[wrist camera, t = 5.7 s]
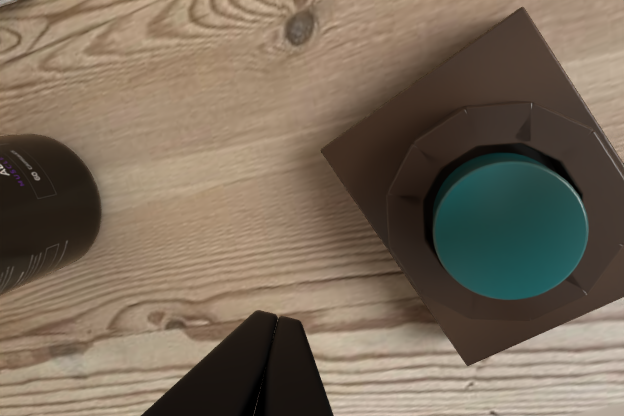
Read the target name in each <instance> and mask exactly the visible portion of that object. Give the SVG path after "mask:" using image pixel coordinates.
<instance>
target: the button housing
mask: <svg viewBox="0 0 624 416" xmlns="http://www.w3.org/2000/svg"><path fill="white" fill-rule="evenodd" d="M321 152H322V154H323V155H324V157H325V158H326V160H327V161H328V162H329V164H330V165H331V167H332V168H333V170H334V171H335V173H336V174H337V176H338V177H339V179H340V180H341V182H342V183H343V184H344V186H345V187H346V189H347V190H348V192H349V193H350V195H351V196H352V198H353V199H354V201H355V202H356V204H357V205H358V207H359V208H360V209H361V211H362V212H363V214H364V215H365V217H366V218H367V220H368V221H369V223H370V224H371V226H372V227H373V229H374V230H375V231H376V233H377V234H378V236H379V237H380V239H381V240H382V242H383V243H384V245H385V246H386V248H387V249H388V251H389V252H390V254H391V255H392V256H393V258H394V259H395V261H396V262H397V264H398V265H399V267H400V268H401V270H402V271H403V273H404V274H405V276H406V277H407V278H408V280H409V281H410V283H411V284H412V286H413V287H414V289H415V290H416V292H417V293H418V295H419V296H420V298H421V299H422V301H423V302H424V303H425V305H426V306H427V308H428V309H429V311H430V312H431V314H432V315H433V317H434V318H435V320H436V321H437V323H438V324H439V325H440V327H441V328H442V330H443V331H444V333H445V334H446V336H447V337H448V339H449V340H450V342H451V343H452V345H453V346H454V348H455V349H456V350H457V352H458V353H459V355H460V356H461V358H462V359H463V361H464V362H465V364H466V365H467V366H469V365H471V364H474V363H476V362H478V361H480V360H483V359H485V358H487V357H489V356H492V355H494V354H496V353H498V352H501V351H503V350H505V349H508V348H510V347H512V346H514V345H517V344H519V343H521V342H523V341H526V340H528V339H530V338H532V337H535V336H537V335H539V334H541V333H544V332H546V331H548V330H550V329H553V328H555V327H557V326H559V325H562V324H564V323H566V322H568V321H571V320H573V319H575V318H577V317H580V316H582V315H584V314H586V313H589V312H591V311H593V310H595V309H598V308H600V307H602V306H604V305H607V304H609V303H611V302H613V301H616V300H618V299H620V298H622V297H624V163H623V162H622V160H621V159H620V157H619V156H618V154H617V152H616V151H615V149H614V148H613V146H612V145H611V143H610V141H609V140H608V138H607V137H606V135H605V134H604V132H603V131H602V129H601V127H600V126H599V124H598V123H597V121H596V120H595V118H594V116H593V115H592V113H591V112H590V110H589V109H588V107H587V105H586V104H585V102H584V101H583V99H582V98H581V96H580V94H579V93H578V91H577V90H576V88H575V87H574V85H573V84H572V82H571V80H570V79H569V77H568V76H567V74H566V73H565V71H564V69H563V68H562V66H561V65H560V63H559V62H558V60H557V58H556V57H555V55H554V54H553V52H552V51H551V49H550V47H549V46H548V44H547V43H546V41H545V40H544V38H543V37H542V35H541V33H540V32H539V30H538V29H537V27H536V26H535V24H534V22H533V21H532V19H531V18H530V16H529V15H528V13H527V11H526V10H525V8H524V7H521V8H519V9H518V10H516V11H515V12H514V13H512V14H511V15H509V16H508V17H507V18H505V19H504V20H502V21H501V22H499V23H498V24H497V25H495V26H494V27H492V28H491V29H490V30H488V31H487V32H485V33H484V34H483V35H481V36H480V37H478V38H477V39H475V40H474V41H473V42H471V43H470V44H468V45H467V46H466V47H464V48H463V49H461V50H460V51H459V52H457V53H456V54H454V55H453V56H452V57H450V58H449V59H447V60H446V61H444V62H443V63H442V64H440V65H439V66H437V67H436V68H435V69H433V70H432V71H430V72H429V73H428V74H426V75H425V76H423V77H422V78H420V79H419V80H418V81H416V82H415V83H413V84H412V85H411V86H409V87H408V88H406V89H405V90H404V91H402V92H401V93H399V94H398V95H397V96H395V97H394V98H392V99H391V100H389V101H388V102H387V103H385V104H384V105H382V106H381V107H380V108H378V109H377V110H375V111H374V112H373V113H371V114H370V115H368V116H367V117H366V118H364V119H363V120H361V121H360V122H358V123H357V124H356V125H354V126H353V127H351V128H350V129H349V130H347V131H346V132H344V133H343V134H342V135H340V136H339V137H337V138H336V139H334V140H333V141H332V142H330V143H329V144H327V145H326V146H325V147H323V148H322V149H321ZM491 153H515V154H519V155H523V156H527V157H529V158H532V159H534V160H536V161H538V162H540V163H541V164H543V165H545V166H546V167H548V168H549V169H551V170H552V171H554V172H556V173H557V174H558V175H560V176H561V177H563V178H564V179H565V180H566V181H567V182H568V183H569V184H570V185H571V186H572V187H573V188H574V189H575V191H576V192H577V193H578V194H579V196H580V198H581V200H582V202H583V204H584V207H585V209H586V212H587V217H588V224H589V234H588V241H587V245H586V249H585V251H584V254H583V256H582V258H581V260H580V262H579V263H578V265H577V266H576V268H575V269H574V270H573V272H572V273H571V274H570V275H569V276H568V277H567V278H566V279H565V280H564V281H562V282H561V283H560V284H558V285H557V286H556V287H554V288H552V289H550V290H548V291H547V292H544V293H542V294H539V295H537V296H533V297H529V298H524V299H518V300H502V299H495V298H489V297H486V296H482V295H479V294H477V293H475V292H472V291H470V290H469V289H467V288H465V287H463V286H462V285H461V284H459V283H458V282H457V281H455V280H454V279H453V278H452V277H451V276H450V275H449V273H448V272H447V271H446V270H445V268H444V267H443V265H442V264H441V262H440V260H439V258H438V256H437V253H436V250H435V246H434V242H433V207H434V202H435V198H436V195H437V193H438V191H439V189H440V187H441V185H442V184H443V182H444V181H445V180H446V178H447V177H448V176H449V175H450V174H451V173H452V172H453V171H454V170H455V169H456V168H458V167H459V166H461V165H462V164H463V163H465V162H467V161H469V160H471V159H473V158H476V157H479V156H482V155H486V154H491Z"/></svg>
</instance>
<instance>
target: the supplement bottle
mask: <svg viewBox="0 0 624 416" xmlns="http://www.w3.org/2000/svg"><path fill="white" fill-rule="evenodd" d="M100 223H101V201H100V196H99V192H98V189H97V186H96V183H95V181H94V178H93V177H92V175H91V173H90V171H89V170H88V168H87V166H86V165H85V164H84V162H83V161H82V160H81V159H80V158H79V157H78V156H77V155H76V154H75V153H74V152H73V151H72V150H71V149H69V148H68V147H67V146H65V145H64V144H62V143H60V142H58V141H56V140H54V139H52V138H49V137H46V136H42V135H34V134H24V135H7V136H0V296H1V295H3V294H5V293H7V292H10V291H12V290H14V289H16V288H19V287H21V286H23V285H25V284H28V283H30V282H32V281H34V280H37V279H39V278H41V277H43V276H45V275H48V274H50V273H52V272H54V271H57V270H59V269H61V268H63V267H65V266H67V265H69V264H71V263H73V262H75V261H77V260H78V259H80V258H81V257H82V256H83V255H85V254H86V253H87V251H88V250H89V249H90V248H91V246H92V245H93V243H94V241H95V239H96V237H97V235H98V232H99V228H100Z"/></svg>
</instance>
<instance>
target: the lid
mask: <svg viewBox="0 0 624 416" xmlns="http://www.w3.org/2000/svg"><path fill="white" fill-rule="evenodd" d="M15 1H17V0H0V7H2V6H4V5H7V4H10V3H13V2H15Z"/></svg>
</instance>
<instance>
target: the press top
mask: <svg viewBox="0 0 624 416" xmlns="http://www.w3.org/2000/svg"><path fill="white" fill-rule="evenodd" d="M588 234H589V224H588V217H587V212H586V209H585V207H584V204H583V202H582V200H581V198H580V196H579V194H578V193H577V192H576V191H575V189H574V188H573V187H572V186H571V185H570V184H569V183H568V182H567V181H566V180H565V179H564V178H563V177H561V176H560V175H558V174H557V173H556V172H554V171H552V170H551V169H549V168H548V167H546V166H545V165H543V164H541V163H540V162H538V161H536V160H534V159H532V158H529V157H527V156H523V155H519V154H515V153H491V154H486V155H482V156H479V157H476V158H473V159H471V160H469V161H467V162H465V163H463V164H462V165H461V166H459V167H458V168H456V169H455V170H454V171H453V172H452V173H451V174H450V175H449V176H448V177H447V178H446V180H445V181H444V182H443V184H442V185H441V187H440V189H439V191H438V193H437V195H436V198H435V202H434V207H433V242H434V246H435V250H436V253H437V256H438V258H439V260H440V262H441V264H442V265H443V267H444V268H445V270H446V271H447V272H448V273H449V275H450V276H451V277H452V278H453V279H454V280H455V281H457V282H458V283H459V284H461V285H462V286H463V287H465V288H467V289H469V290H470V291H472V292H475V293H477V294H479V295H482V296H486V297H489V298H495V299H502V300H518V299H524V298H529V297H533V296H537V295H539V294H542V293H544V292H547V291H548V290H550V289H552V288H554V287H556V286H557V285H558V284H560V283H561V282H562V281H564V280H565V279H566V278H567V277H568V276H569V275H570V274H571V273H572V272H573V270H574V269H575V268H576V266H577V265H578V263H579V262H580V260H581V258H582V256H583V254H584V251H585V249H586V245H587V241H588Z"/></svg>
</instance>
